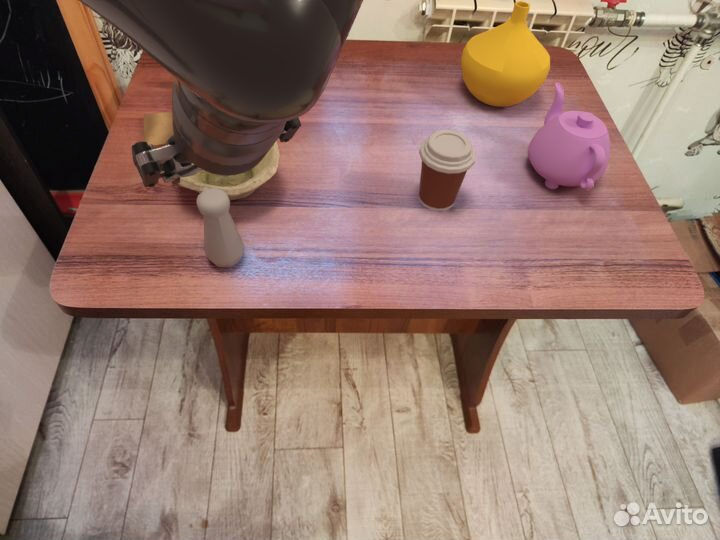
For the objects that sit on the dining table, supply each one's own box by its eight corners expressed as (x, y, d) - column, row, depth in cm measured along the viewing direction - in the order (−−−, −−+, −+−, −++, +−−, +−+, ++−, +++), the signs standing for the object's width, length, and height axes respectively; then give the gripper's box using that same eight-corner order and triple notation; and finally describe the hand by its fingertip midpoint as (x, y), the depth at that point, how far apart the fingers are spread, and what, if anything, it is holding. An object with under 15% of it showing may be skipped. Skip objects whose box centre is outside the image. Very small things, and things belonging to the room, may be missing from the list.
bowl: (277, 198, 90) (282, 204, 76) (175, 198, 86) (160, 205, 72) (275, 120, 87) (280, 111, 73) (169, 117, 83) (152, 107, 69)
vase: (443, 74, 112) (462, -15, 97) (517, 70, 115) (546, -17, 100) (469, 121, 101) (495, 29, 86) (550, 115, 104) (588, 25, 89)
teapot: (503, 139, 98) (523, 82, 88) (567, 134, 100) (593, 78, 91) (545, 209, 86) (574, 152, 76) (616, 201, 88) (653, 145, 79)
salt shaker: (242, 273, 73) (229, 212, 63) (204, 271, 73) (184, 210, 63) (248, 244, 77) (237, 182, 67) (212, 242, 77) (195, 179, 66)
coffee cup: (468, 191, 88) (486, 136, 78) (452, 223, 82) (468, 168, 73) (422, 175, 90) (433, 119, 80) (402, 205, 85) (412, 149, 75)
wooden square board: (145, 150, 90) (143, 145, 89) (145, 118, 95) (143, 114, 95) (201, 144, 92) (200, 139, 91) (197, 113, 97) (196, 109, 97)
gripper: (299, 35, 36) (263, 105, 51) (101, 86, 31) (126, 147, 47) (337, 132, 37) (290, 172, 52) (150, 196, 32) (159, 220, 48)
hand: (213, 160), depth 49 cm, fingers open, 8 cm apart
